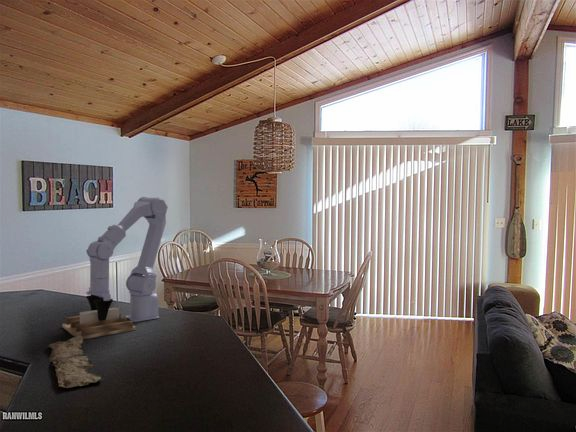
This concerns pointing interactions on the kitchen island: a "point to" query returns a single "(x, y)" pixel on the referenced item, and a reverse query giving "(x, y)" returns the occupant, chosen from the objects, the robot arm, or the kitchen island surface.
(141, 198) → the robot arm
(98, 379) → the rock fragment
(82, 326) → the drying rack
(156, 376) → the kitchen island surface
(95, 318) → the clay bar
